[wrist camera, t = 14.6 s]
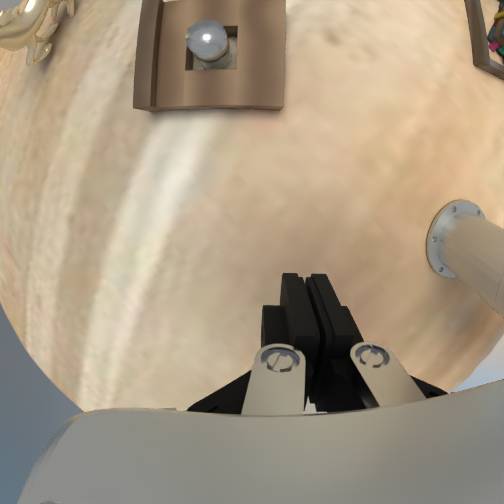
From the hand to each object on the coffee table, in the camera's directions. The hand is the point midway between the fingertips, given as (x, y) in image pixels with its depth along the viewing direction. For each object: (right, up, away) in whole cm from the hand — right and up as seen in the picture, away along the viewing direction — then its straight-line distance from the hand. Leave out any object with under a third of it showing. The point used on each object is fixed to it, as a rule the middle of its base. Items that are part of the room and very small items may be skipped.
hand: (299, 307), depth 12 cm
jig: (-6, +26, +19) cm, 33 cm away
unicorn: (-30, +36, +15) cm, 49 cm away
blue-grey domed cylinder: (-6, +26, +19) cm, 33 cm away
